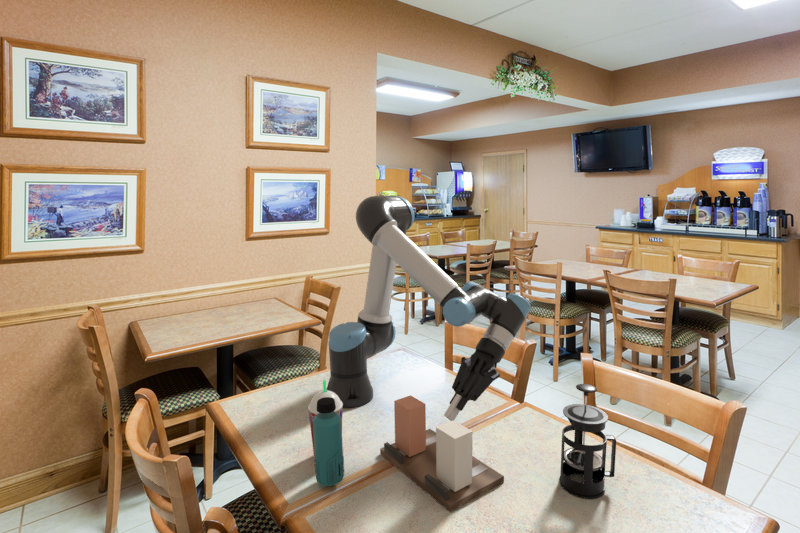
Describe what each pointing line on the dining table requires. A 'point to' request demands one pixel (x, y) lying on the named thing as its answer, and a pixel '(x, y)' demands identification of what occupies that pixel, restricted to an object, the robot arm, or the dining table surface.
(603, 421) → the french press
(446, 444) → the key
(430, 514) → the dining table surface
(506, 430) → the dining table surface
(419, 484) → the board
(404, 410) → the key
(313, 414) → the smoothie
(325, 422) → the beverage bottle
